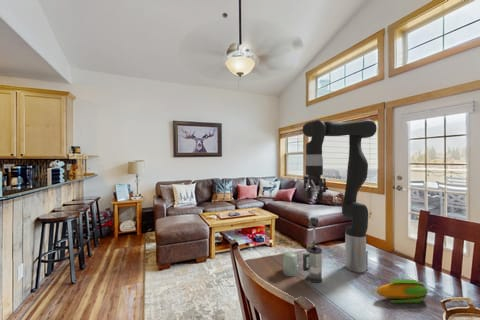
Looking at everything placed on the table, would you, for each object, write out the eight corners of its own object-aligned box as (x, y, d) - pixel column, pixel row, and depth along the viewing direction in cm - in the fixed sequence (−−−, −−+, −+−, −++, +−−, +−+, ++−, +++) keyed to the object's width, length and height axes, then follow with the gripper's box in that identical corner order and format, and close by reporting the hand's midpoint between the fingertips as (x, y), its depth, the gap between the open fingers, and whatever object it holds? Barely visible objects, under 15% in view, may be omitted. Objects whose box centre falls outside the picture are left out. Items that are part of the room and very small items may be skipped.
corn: (433, 284, 84) (383, 286, 82) (435, 304, 83) (384, 307, 82) (416, 275, 91) (370, 277, 90) (417, 294, 91) (371, 296, 89)
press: (316, 274, 105) (316, 245, 105) (325, 282, 99) (325, 251, 99) (300, 277, 103) (300, 247, 103) (307, 285, 97) (307, 253, 97)
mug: (291, 267, 112) (291, 249, 112) (299, 275, 105) (299, 256, 105) (279, 269, 111) (279, 251, 111) (287, 277, 103) (287, 258, 103)
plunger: (315, 246, 103) (315, 217, 103) (320, 249, 100) (319, 219, 100) (308, 247, 103) (308, 217, 102) (312, 250, 99) (312, 219, 99)
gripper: (331, 164, 95) (331, 202, 95) (312, 164, 109) (312, 197, 109) (315, 165, 93) (315, 203, 93) (298, 164, 107) (298, 197, 107)
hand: (314, 200), depth 101 cm, fingers open, 8 cm apart
